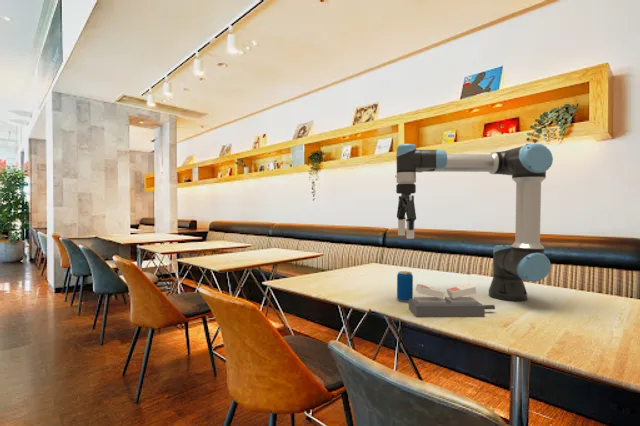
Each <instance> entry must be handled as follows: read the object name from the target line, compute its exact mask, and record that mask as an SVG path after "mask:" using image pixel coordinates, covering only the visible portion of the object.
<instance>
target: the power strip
mask: <svg viewBox="0 0 640 426" xmlns="http://www.w3.org/2000/svg"><path fill="white" fill-rule="evenodd" d="M408 310H410V312H411V314H413V315H414V316H415V317H416V318H473V317H474V318H475V317H476V318H477V317H478V318H479V317H483V318H484V317H485V313H486V312H485V310H496V306H495V305H494V304H483V303H481V302H479V301H478V300H477V299H475V298H474V297H472V296H462V297H457V298H452V297H450V296H444V298H443V299H442V298H438V297H433V296H414V297H413V299H409V302H408Z"/></svg>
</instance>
